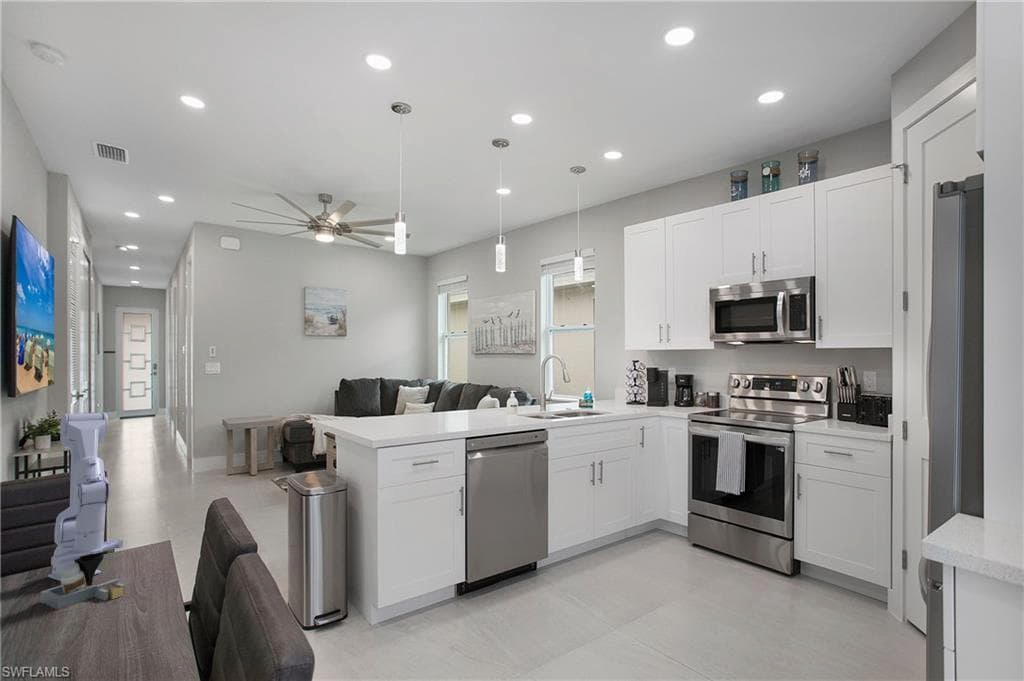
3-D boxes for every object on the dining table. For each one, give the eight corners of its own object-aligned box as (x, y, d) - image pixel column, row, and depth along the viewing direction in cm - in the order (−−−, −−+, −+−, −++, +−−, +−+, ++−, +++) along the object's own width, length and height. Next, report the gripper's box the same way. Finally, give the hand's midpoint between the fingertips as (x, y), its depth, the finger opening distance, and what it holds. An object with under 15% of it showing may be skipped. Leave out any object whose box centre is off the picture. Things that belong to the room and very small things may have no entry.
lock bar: (98, 594, 127) (99, 587, 127) (109, 590, 129) (109, 583, 129) (112, 599, 124) (112, 591, 124) (123, 595, 126) (123, 588, 126)
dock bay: (39, 602, 122) (40, 590, 122) (97, 583, 133) (98, 572, 133) (67, 613, 117) (68, 601, 117) (125, 593, 128) (125, 581, 128)
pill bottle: (68, 603, 122) (60, 575, 121) (62, 596, 125) (55, 569, 123) (90, 592, 126) (83, 565, 124) (84, 585, 128) (77, 559, 127)
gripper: (63, 541, 120) (60, 600, 119) (130, 524, 133) (128, 577, 132) (47, 537, 123) (44, 594, 122) (115, 521, 136) (112, 572, 135)
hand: (86, 585), depth 127 cm, fingers closed, pressing on pill bottle
